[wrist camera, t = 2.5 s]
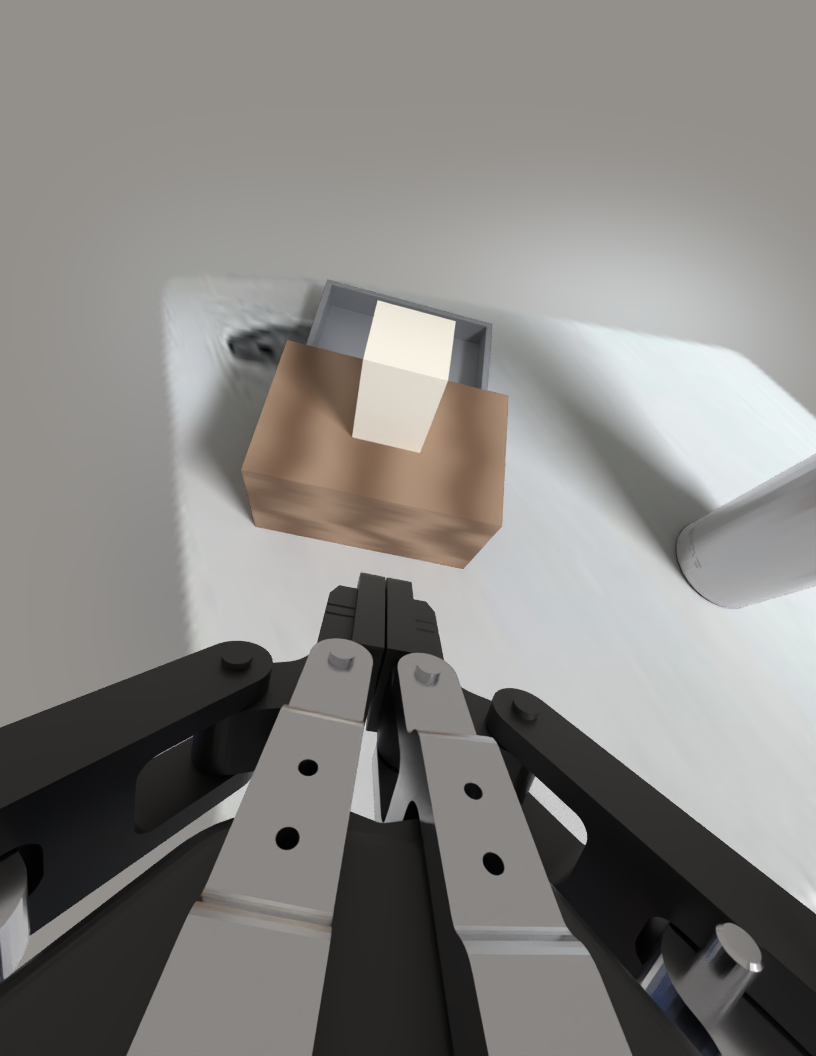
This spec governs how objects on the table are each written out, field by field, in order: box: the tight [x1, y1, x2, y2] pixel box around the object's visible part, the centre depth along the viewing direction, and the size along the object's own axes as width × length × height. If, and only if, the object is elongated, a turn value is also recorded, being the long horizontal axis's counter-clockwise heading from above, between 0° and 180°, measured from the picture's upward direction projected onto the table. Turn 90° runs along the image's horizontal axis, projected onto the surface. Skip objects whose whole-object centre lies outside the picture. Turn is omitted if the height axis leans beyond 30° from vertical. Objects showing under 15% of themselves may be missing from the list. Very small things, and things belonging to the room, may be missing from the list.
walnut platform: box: [241, 340, 508, 569], centre depth 37 cm, size 18×12×9 cm, turn 82°
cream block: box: [352, 301, 456, 453], centre depth 30 cm, size 5×5×8 cm
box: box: [306, 280, 492, 390], centre depth 46 cm, size 18×15×3 cm
